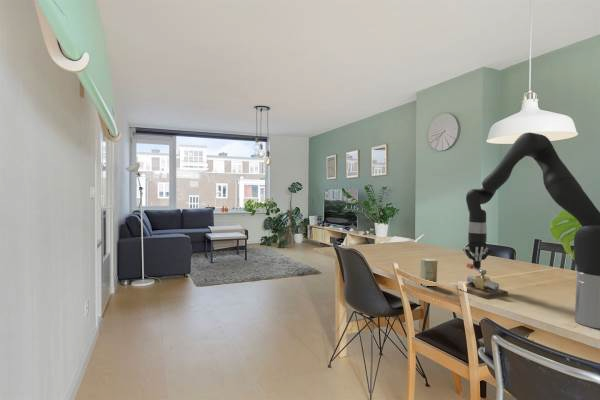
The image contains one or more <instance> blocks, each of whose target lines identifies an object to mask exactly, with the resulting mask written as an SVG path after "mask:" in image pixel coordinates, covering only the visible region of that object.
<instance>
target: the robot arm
mask: <svg viewBox="0 0 600 400" xmlns="http://www.w3.org/2000/svg"><path fill="white" fill-rule="evenodd" d="M525 157H531V158H532V159H534V160H535V162H536V163H537V165H538V166H539V167H540V169H541V171H542V177H543V178H542V180H543V181H542V182H543V185H544V188H545V189H546V191H547V193H548V194H549V195H550V198H551V199H552V200H553V201H554V202H555V203H556V205H558V206H559V207H561V209H563V210H564V211H566V212H567V213H568V214H570V215H571V216H572V217H573V218H575V220H577V222H578V223H579V224H580V226H581V227H579V228H578V229H577V230H576V231H575V233H574V237H573V260H574V263H575V266H576V278H575V279H576V282H575V284H576V285H575V304H574V305H575V307H574V309H575V310H574V321H575V323H578V324H580V325H583V326H585V327H588V328H589V327H590V328H593V329H599V330H600V211H599V209H598V208H597V207H596V206H595V204H594V203H593V201H592V199H591V198H590V197H589V196H588V195H587V193H586V192H585V191H584V189H583V187H582V186H581V185H580V183H579V182H578V181H577V179H576V177H575V176H574V175H573V174H572V172H571V171H570V170H569V169H568V167H567V166H566V165H565V164H564V162H563V161H562V159H561V158H560V157H559V155H558V152H557V151H556V149H555V147H554V145H553V143H552V142H551V140H550V139H549V137H547V136H546V135H544V134H541V133H535V132H524V133H523V134H521V135H519V137H518V138H517V139H516V140H515V141H514V143H513V144H512V145H511V147H510V148H509V149H508V150H507V152H506V153H505V155H504V157H503V158H502V159H501V160H500V162H499V163H497V166H496V167H495V168H494V169H493V170H491V172H490V173H489V174H488V175H487V176H486V177H485V178H484V179H483V181H481V186H482V187H481V188H473V189H472V188H471V189H469V190H468V192H467V193H466V196H465V201H466V205H467V210H468V212H469V217H468V220H469V223H468V232H467V233H468V237H467V240H468V242H467V243H468V244H467V246H466V247H465V248H462V251H463V252H464V254H465V255H466V257H468V259H470V260H472V264H473V265H475V267H476V268H479V269H481V267H482V266H481V265H482V261H485V260H486V259H487V257H488V256H489V255H490V254H491V252H492V249H491V248H488V245H487V236H488V235H487V234H488V233H487V232H488V231H487V230H488V228H487V211H486V210H485V209H483V208H482V207H481V206H482V205H485V204H487V203H488V202H490V201H491V200H492V199H493V197H494V196H495V194H496V192H497V190H499V189H500V188H501V187H502V186H503V185H504V184H506V182H507V181H508V180H509V178H510V176H511V175H512V172H513V169H514V168H515V166H516V165H517V164H518V163H519V162H520V161H521V160H523V159H524V158H525Z"/></svg>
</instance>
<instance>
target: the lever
mask: <svg viewBox="0 0 600 400" xmlns="http://www.w3.org/2000/svg"><path fill="white" fill-rule="evenodd" d="M466 268H468V269H470V270H475V271H477V272H478V273H479V274H480V275H481V274H484V275H487V270H485V269H481V268H480V269H479V268H476V267H475V265H473V263H466Z"/></svg>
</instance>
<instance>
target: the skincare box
mask: <svg viewBox="0 0 600 400" xmlns="http://www.w3.org/2000/svg"><path fill="white" fill-rule="evenodd" d="M419 274H420V276H419V279H420V278H422V279H425V280H429V281H433V282H437V280H438V279H437V278H438V260H437V259H433V258H420V273H419ZM421 286H422V287H425V288H428V287H427V286H425V285H421Z"/></svg>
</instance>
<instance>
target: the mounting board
mask: <svg viewBox="0 0 600 400" xmlns="http://www.w3.org/2000/svg"><path fill="white" fill-rule="evenodd" d="M465 285H466V287H467V292H468V293H467V292H466V293H467V294H470V295H474V296H477V297H479V298H483V299H490V298H496V297H497V298H498V297H503V296H508V295H509V294H508V293H509V292H508V291H507V290H505V289H501V288H499V289H498V293H495V294H491V293H488V289H485V290H482V289H479V288H476V287H469V286H467V284H465Z"/></svg>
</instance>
